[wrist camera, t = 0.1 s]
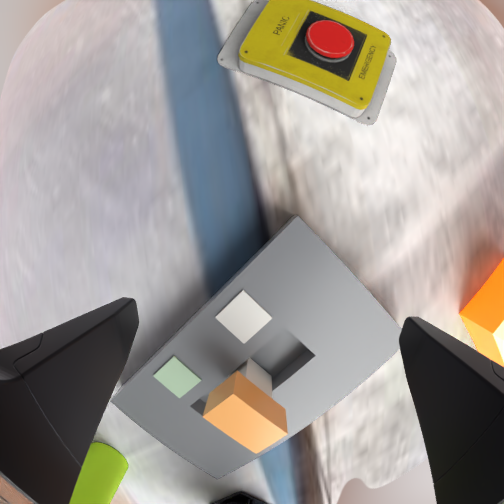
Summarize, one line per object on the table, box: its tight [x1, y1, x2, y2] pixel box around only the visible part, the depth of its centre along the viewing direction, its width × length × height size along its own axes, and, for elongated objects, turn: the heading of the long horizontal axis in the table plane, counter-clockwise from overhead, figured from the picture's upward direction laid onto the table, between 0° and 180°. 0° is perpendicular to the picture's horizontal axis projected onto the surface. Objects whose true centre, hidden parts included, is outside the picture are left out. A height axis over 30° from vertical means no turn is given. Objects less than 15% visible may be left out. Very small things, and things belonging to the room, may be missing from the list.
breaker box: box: [111, 215, 402, 479], centre depth 24 cm, size 24×14×3 cm, turn 135°
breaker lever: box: [202, 358, 288, 454], centre depth 21 cm, size 3×5×7 cm, turn 45°
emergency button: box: [217, 0, 396, 126], centre depth 20 cm, size 9×4×15 cm
